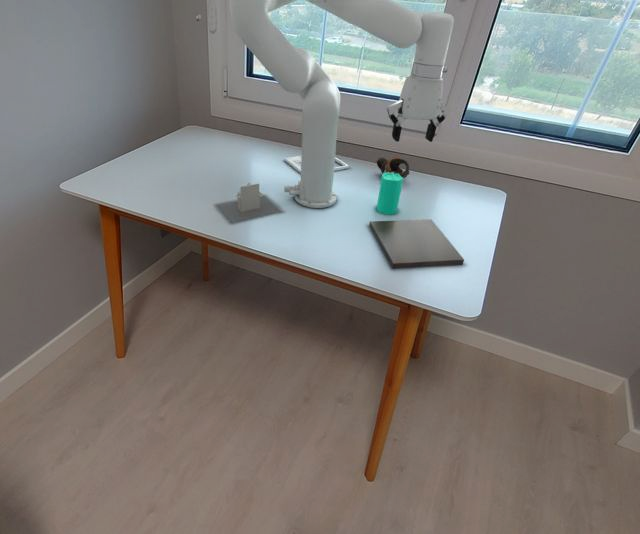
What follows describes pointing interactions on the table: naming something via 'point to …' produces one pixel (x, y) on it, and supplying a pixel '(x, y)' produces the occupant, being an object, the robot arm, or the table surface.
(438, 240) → the serving board
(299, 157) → the photo frame
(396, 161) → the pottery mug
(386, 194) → the candle
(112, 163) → the table surface
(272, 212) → the architectural model
